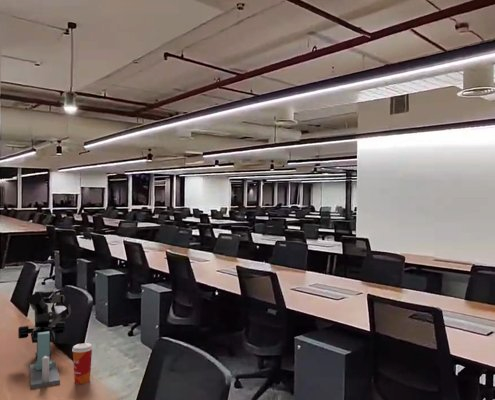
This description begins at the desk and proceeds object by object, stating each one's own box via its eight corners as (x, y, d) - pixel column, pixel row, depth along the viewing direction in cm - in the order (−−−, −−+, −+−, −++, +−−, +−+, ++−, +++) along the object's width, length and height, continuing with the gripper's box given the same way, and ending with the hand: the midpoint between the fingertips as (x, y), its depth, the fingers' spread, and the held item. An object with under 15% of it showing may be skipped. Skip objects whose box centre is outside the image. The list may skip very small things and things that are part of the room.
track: (29, 368, 187) (29, 343, 187) (55, 364, 192) (55, 340, 192) (31, 388, 167) (31, 360, 167) (60, 383, 171) (60, 356, 171)
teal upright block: (35, 366, 185) (35, 332, 185) (51, 364, 187) (51, 331, 187) (36, 373, 177) (36, 338, 177) (52, 371, 179) (52, 336, 179)
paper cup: (72, 379, 176) (72, 343, 176) (92, 376, 179) (92, 341, 179) (71, 386, 169) (71, 350, 169) (92, 383, 171) (93, 347, 171)
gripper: (18, 308, 190) (18, 341, 180) (65, 303, 199) (67, 334, 189) (18, 322, 197) (18, 354, 187) (63, 317, 206) (65, 347, 196)
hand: (42, 347), depth 190 cm, fingers closed
